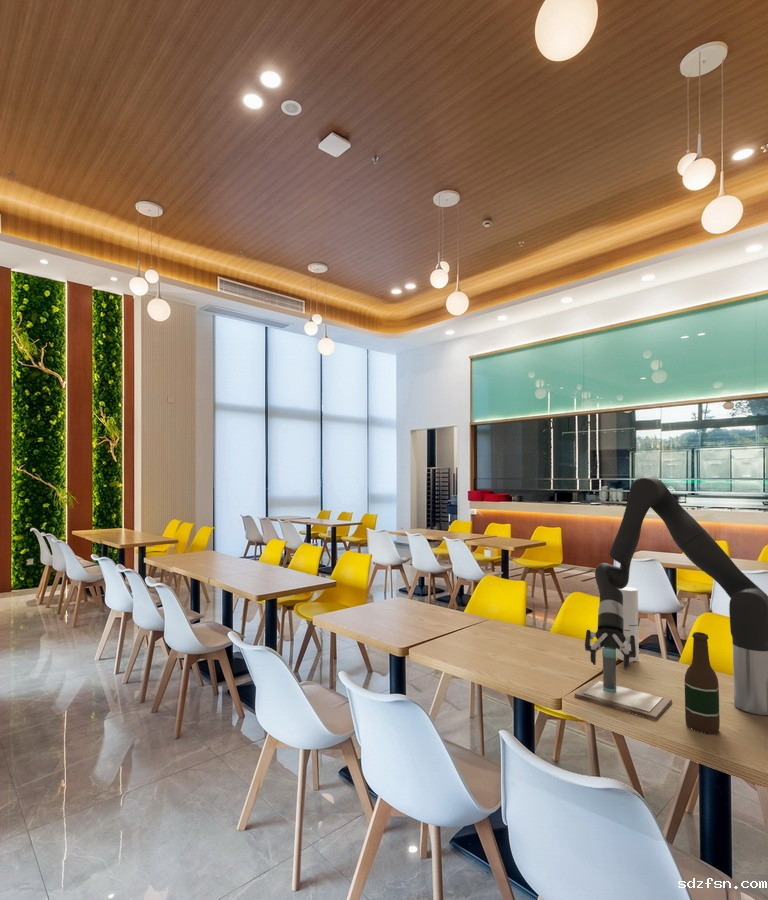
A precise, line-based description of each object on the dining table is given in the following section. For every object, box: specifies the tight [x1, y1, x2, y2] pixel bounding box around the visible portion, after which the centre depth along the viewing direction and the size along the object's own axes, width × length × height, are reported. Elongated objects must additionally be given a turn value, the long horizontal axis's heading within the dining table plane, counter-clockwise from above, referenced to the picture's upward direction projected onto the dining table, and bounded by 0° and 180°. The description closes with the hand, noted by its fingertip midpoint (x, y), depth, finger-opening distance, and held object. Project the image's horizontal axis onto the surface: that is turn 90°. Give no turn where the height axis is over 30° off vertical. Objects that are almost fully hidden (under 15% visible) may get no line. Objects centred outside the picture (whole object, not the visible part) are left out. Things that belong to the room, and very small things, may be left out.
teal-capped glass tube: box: [601, 647, 617, 693], centre depth 156 cm, size 4×4×12 cm
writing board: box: [574, 678, 673, 721], centre depth 152 cm, size 22×16×1 cm
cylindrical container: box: [616, 586, 640, 662], centre depth 190 cm, size 7×7×25 cm
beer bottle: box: [684, 631, 721, 735], centre depth 136 cm, size 8×8×24 cm
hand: (609, 665), depth 155 cm, fingers open, 8 cm apart
